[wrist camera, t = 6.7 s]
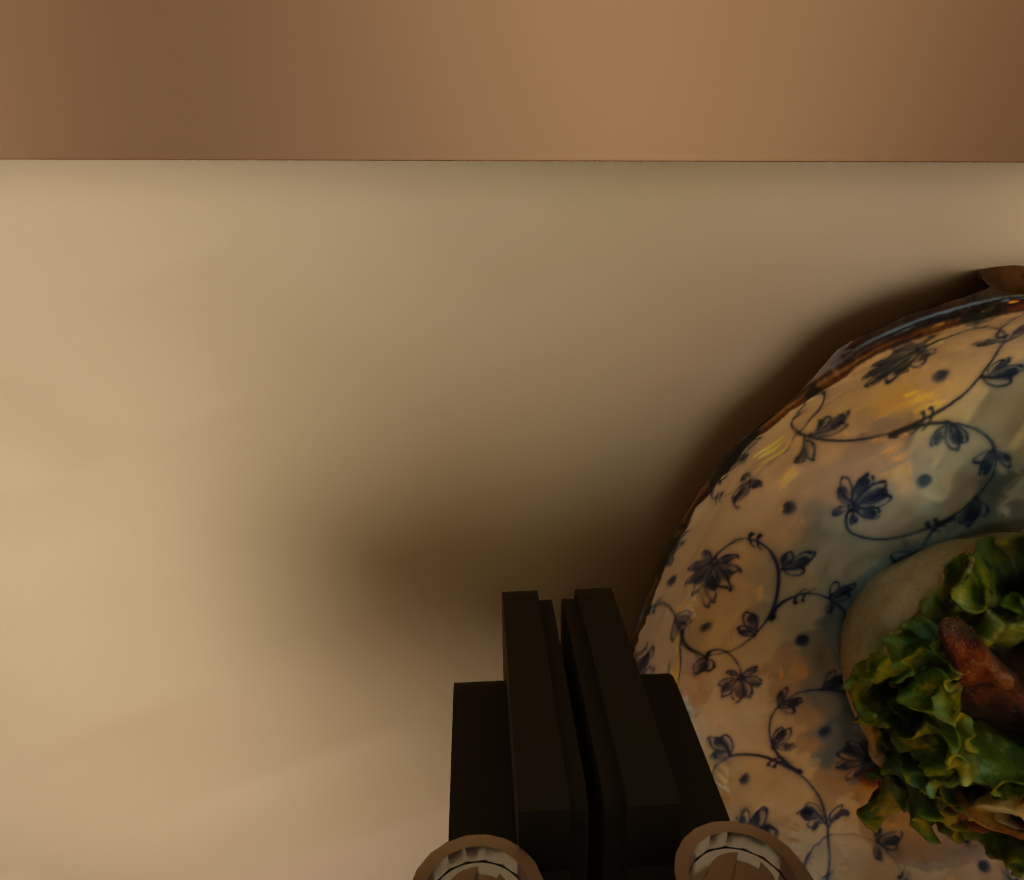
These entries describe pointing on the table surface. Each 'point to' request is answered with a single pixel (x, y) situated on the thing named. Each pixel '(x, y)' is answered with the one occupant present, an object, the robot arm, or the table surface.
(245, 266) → the table surface
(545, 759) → the robot arm
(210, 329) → the table surface
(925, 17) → the wooden u-shaped wall
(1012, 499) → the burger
